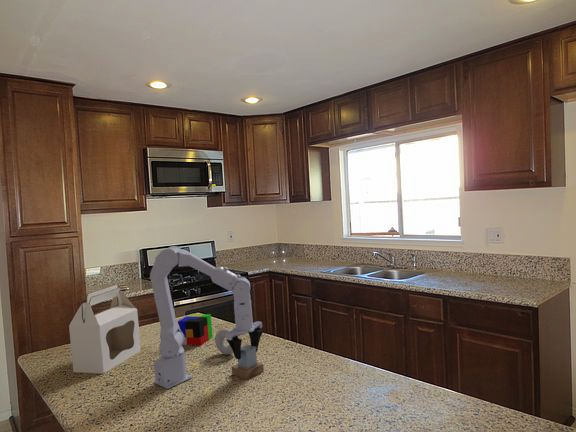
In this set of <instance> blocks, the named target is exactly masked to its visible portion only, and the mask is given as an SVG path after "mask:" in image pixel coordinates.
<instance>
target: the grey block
mask: <svg viewBox="0 0 576 432" xmlns="http://www.w3.org/2000/svg"><path fill="white" fill-rule="evenodd" d="M257 362H258V359H257V352H256V347H255V346H251V344H247V343H246V344H244V345H241V359H237V364H238V367H242V368H245V369H249V368H251V367H253V366H255V365H257Z"/></svg>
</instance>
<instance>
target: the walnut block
mask: <svg viewBox="0 0 576 432" xmlns="http://www.w3.org/2000/svg"><path fill="white" fill-rule="evenodd" d="M264 371H265V370H264V363H262V362H259V361H257V365H255V366H253V367H251V368H249V369H245V368H242V367H238V363H236V364H235V365H232V366H231V374H232V376H233V375H234V376H235V377H238V378H240V379H243V380H245V381H247V380H249V379H252V378H254V377H256V376H258V375H259V374H261V373H264Z"/></svg>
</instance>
